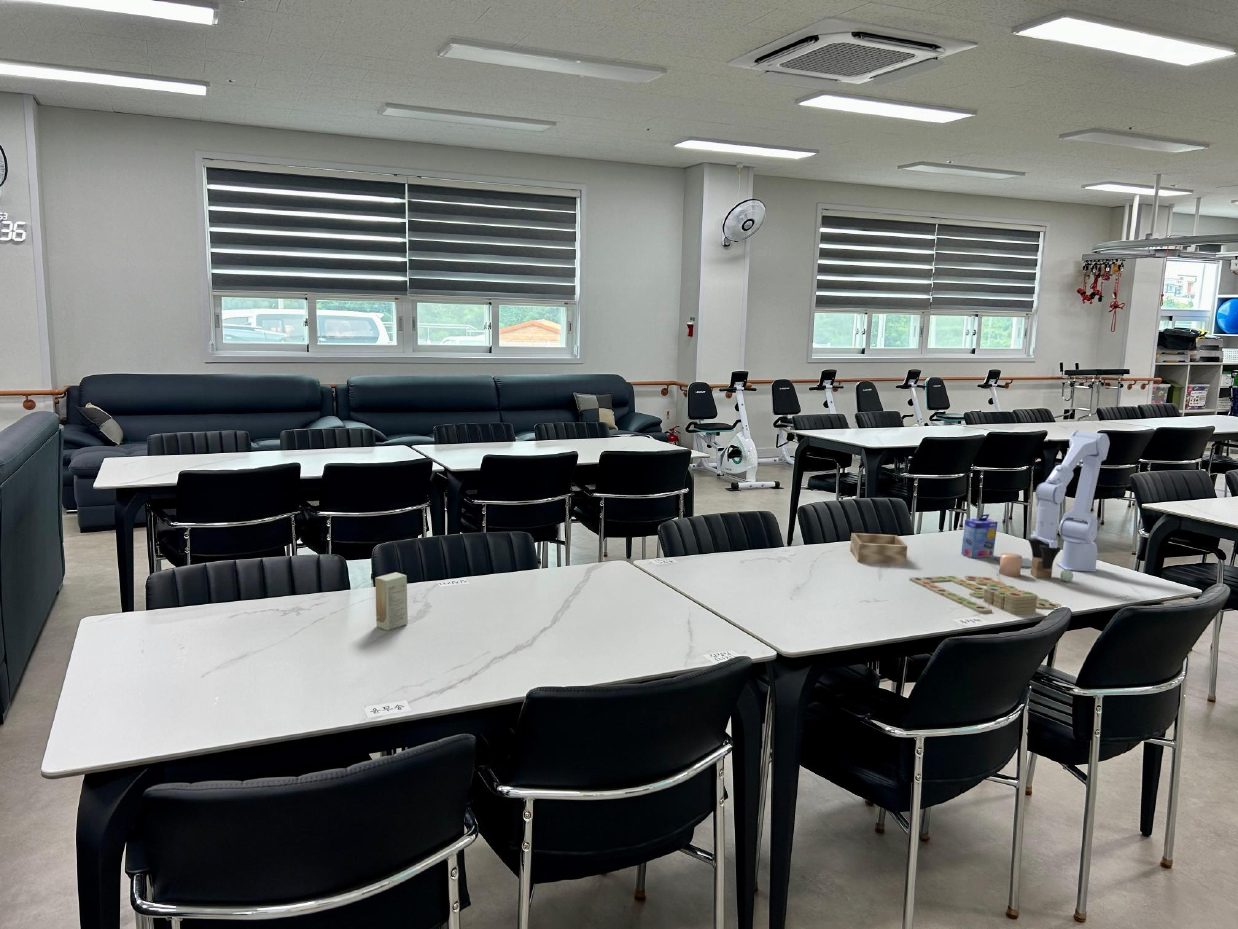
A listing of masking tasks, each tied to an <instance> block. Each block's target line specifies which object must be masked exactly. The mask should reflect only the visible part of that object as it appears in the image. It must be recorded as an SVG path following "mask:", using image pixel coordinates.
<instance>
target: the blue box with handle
mask: <svg viewBox="0 0 1238 929" xmlns="http://www.w3.org/2000/svg"><path fill="white" fill-rule="evenodd" d="M989 516H990V513H988V514H981V515H980V516H979V518H968V519H965V520H964V525H963V526H964V528H963V536H962V545H961V552H960V553H961V555H963V556H966V557H968V558H970V559H979V558H987V557H989V558H990V557H992V558H993V557H994V553H995V544H996V536H997V529H998V521H996V520H994V519H990V518H989Z"/></svg>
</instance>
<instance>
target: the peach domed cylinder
mask: <svg viewBox="0 0 1238 929" xmlns="http://www.w3.org/2000/svg"><path fill="white" fill-rule="evenodd" d="M1000 557H1001V558H1000V563H999V570H998V573H999V574H1000V575H1002V576H1005V577H1011V578H1014V577H1015V578H1018V577H1020V576H1021V570H1022V568H1021V562H1022V558H1023V556H1022V555H1021V554H1017V553H1011V552H1002V553H1000Z"/></svg>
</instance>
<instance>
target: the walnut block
mask: <svg viewBox="0 0 1238 929" xmlns="http://www.w3.org/2000/svg"><path fill="white" fill-rule="evenodd" d="M1031 561H1032V565H1031V568H1030V575H1031V576H1033V577H1034V578H1035V579H1043V580H1044V579H1045V580H1046V579H1047V580H1052V574H1053V564H1054V563H1053V564H1052V567H1051V569H1043V567H1042V558H1037V557H1033V556H1032V557H1031Z"/></svg>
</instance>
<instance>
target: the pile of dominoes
mask: <svg viewBox="0 0 1238 929" xmlns="http://www.w3.org/2000/svg"><path fill="white" fill-rule="evenodd" d="M908 581H910V582H912V583H914V584H917V585H919V586H921V587H923V588H925V589H927V590H929V591H931V592H933V593H936V594H937V595H939V596H943V597H944V598H946V599H948V600H951V601H952V602H954V603H957V604H959V605H962V607H963V606H964V607H965V608H968V609H970V610H972V611H974V612H976V613H978V614H992V613H993V609H991V608H990V607H987V606H985V605H982V604H980V603H978V602H975V601H972V600H971V599H969V598H966V597H964V596H961V595H960V594H958V593H955V592H952V591H950V590H949V589H946V588H943V587H941V586H939V585H936V584H935V583H946V582H948V583H949V582H952V583H954V584H956V585H958V586H962V587H963V588H966V589H968V590H971V592H969V593H968V595H969V596H970V597H972V598H975V599H983V601H982V602H984V603H986V604H989V605H991V606H993V607H994V608H997V609H1000V610H1002V611H1004V612H1006V613H1008V614H1010V615H1026V614H1036V611H1037V610H1054V608H1058V607H1061V606H1063V605H1062V604H1061V603H1057V602H1055V603H1053V602H1052V601H1050V600H1049V599H1047V598H1041V597H1040V596H1039V595H1038V594H1037V593H1035V592H1032V591H1028V590H1024V589H1018V588H1017V587H1016V586H1015V585H1008V584H1006V583H1004V581H999V580H995V579H994V578H992V577H989V576H988V577H987V576H978V575H977V576H976V575H964V579H962V578H960V577H958V576H956V575H945V576H923V577H919V576H915V577H909V579H908ZM971 582H972V583H971ZM973 582H974V583H973ZM982 586H985V587H982ZM1051 608H1052V609H1051Z"/></svg>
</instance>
